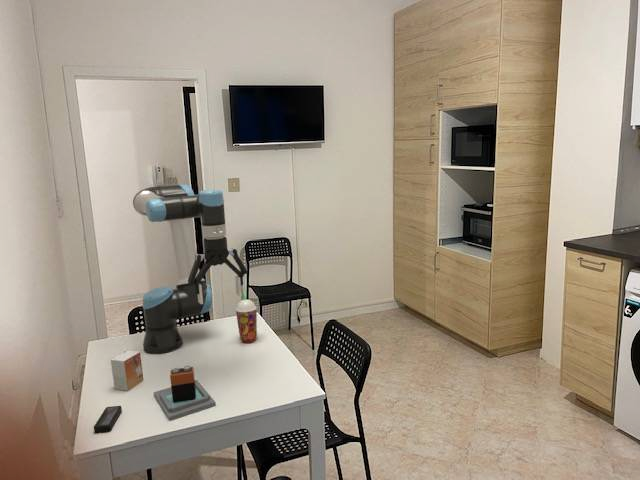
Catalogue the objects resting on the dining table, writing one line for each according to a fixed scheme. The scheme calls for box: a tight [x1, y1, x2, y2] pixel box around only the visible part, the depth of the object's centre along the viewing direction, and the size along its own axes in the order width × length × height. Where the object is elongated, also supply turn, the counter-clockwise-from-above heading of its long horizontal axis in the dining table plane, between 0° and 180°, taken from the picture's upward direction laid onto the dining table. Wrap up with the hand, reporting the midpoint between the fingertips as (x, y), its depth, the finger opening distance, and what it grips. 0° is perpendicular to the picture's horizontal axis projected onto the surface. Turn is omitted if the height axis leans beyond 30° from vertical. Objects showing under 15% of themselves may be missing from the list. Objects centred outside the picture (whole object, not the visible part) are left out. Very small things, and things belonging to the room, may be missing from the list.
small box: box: [110, 349, 144, 392], centre depth 160 cm, size 8×6×10 cm
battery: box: [169, 365, 196, 402], centre depth 147 cm, size 4×7×10 cm, turn 104°
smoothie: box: [235, 292, 258, 344], centre depth 193 cm, size 8×8×20 cm
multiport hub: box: [93, 405, 123, 434], centre depth 139 cm, size 4×11×2 cm, turn 6°
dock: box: [153, 379, 217, 422], centre depth 149 cm, size 18×14×2 cm
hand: (220, 299), depth 162 cm, fingers open, 13 cm apart
